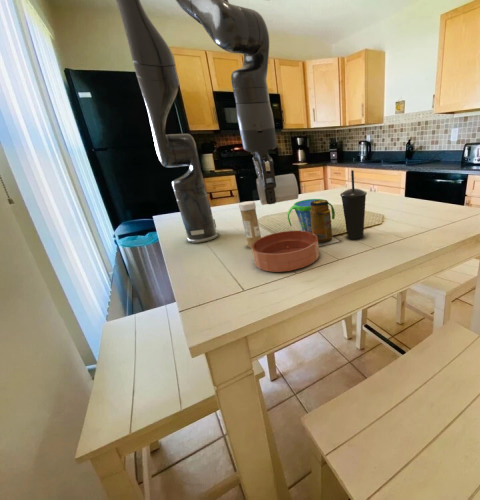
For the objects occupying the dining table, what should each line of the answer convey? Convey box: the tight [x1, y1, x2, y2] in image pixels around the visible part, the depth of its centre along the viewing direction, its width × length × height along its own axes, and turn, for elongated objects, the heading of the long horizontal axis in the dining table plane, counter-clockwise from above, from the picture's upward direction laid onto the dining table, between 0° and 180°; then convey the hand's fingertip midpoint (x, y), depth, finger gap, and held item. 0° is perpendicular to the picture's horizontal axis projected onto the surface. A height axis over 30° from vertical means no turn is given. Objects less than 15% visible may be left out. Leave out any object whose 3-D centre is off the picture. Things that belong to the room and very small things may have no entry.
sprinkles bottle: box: [238, 200, 262, 249], centre depth 81 cm, size 5×5×13 cm
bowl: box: [250, 230, 320, 273], centre depth 71 cm, size 17×17×5 cm
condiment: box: [310, 199, 340, 247], centre depth 81 cm, size 7×8×12 cm
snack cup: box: [287, 198, 336, 233], centre depth 90 cm, size 16×10×10 cm
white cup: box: [255, 173, 299, 206], centre depth 67 cm, size 6×6×9 cm
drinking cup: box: [339, 169, 368, 241], centre depth 80 cm, size 8×8×20 cm
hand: (269, 198), depth 68 cm, fingers closed on white cup, 6 cm apart
